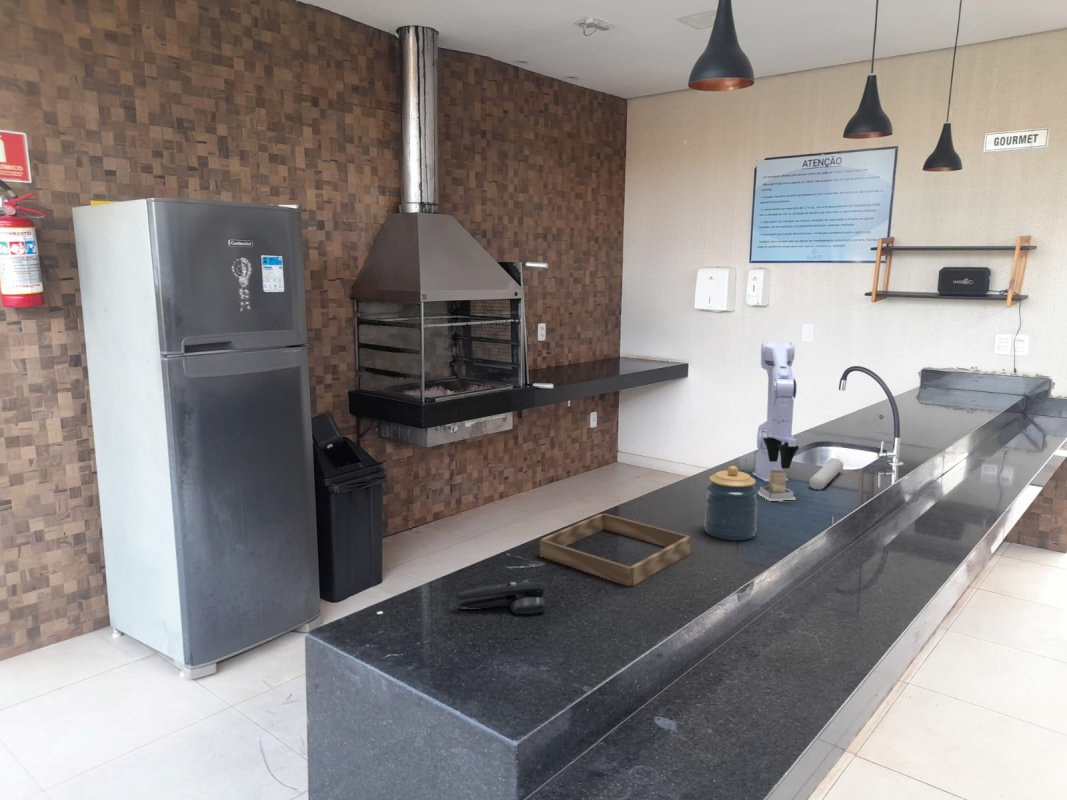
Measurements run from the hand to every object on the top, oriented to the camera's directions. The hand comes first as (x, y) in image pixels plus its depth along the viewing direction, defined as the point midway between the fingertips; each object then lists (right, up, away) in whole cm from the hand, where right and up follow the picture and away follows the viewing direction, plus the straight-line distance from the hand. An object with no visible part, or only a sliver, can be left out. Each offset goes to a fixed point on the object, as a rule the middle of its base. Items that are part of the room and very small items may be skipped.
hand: (779, 464), depth 217 cm
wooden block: (0, -9, +1) cm, 9 cm away
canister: (-22, -15, -28) cm, 39 cm away
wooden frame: (-53, -17, -43) cm, 70 cm away
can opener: (-79, -23, -71) cm, 108 cm away
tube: (+21, -7, +18) cm, 29 cm away
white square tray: (0, -10, +1) cm, 10 cm away
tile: (0, -10, +1) cm, 10 cm away
